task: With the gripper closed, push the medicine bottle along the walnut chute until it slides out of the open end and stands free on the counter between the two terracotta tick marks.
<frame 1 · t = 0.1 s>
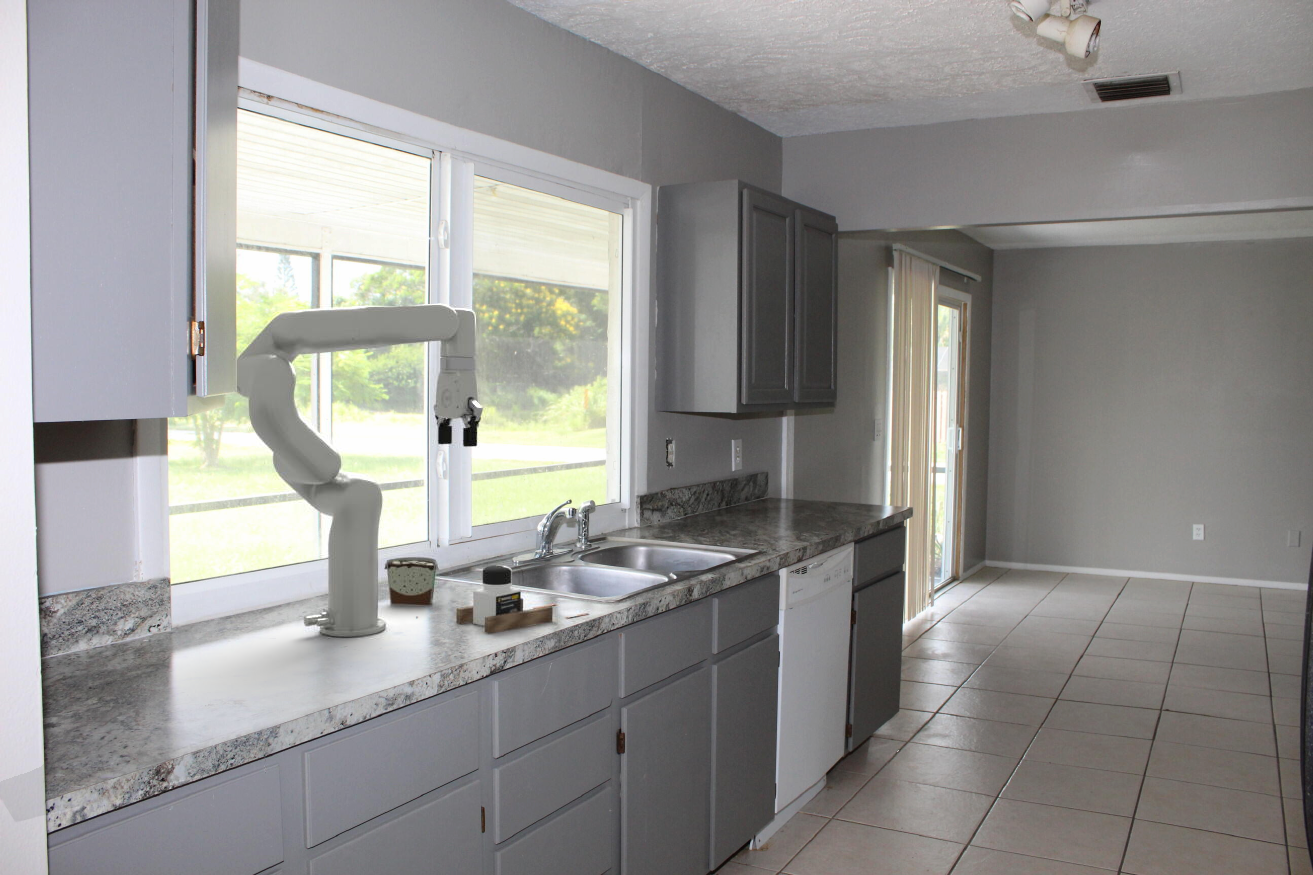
hand: (457, 445, 206), 37 cm above the worktop, tool pointing down, fingers open, 9 cm apart
food container: (415, 603, 217), on the worktop
chute: (504, 621, 200), on the worktop
medicine bottle: (496, 624, 199), on the worktop
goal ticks: (560, 611, 211), on the worktop
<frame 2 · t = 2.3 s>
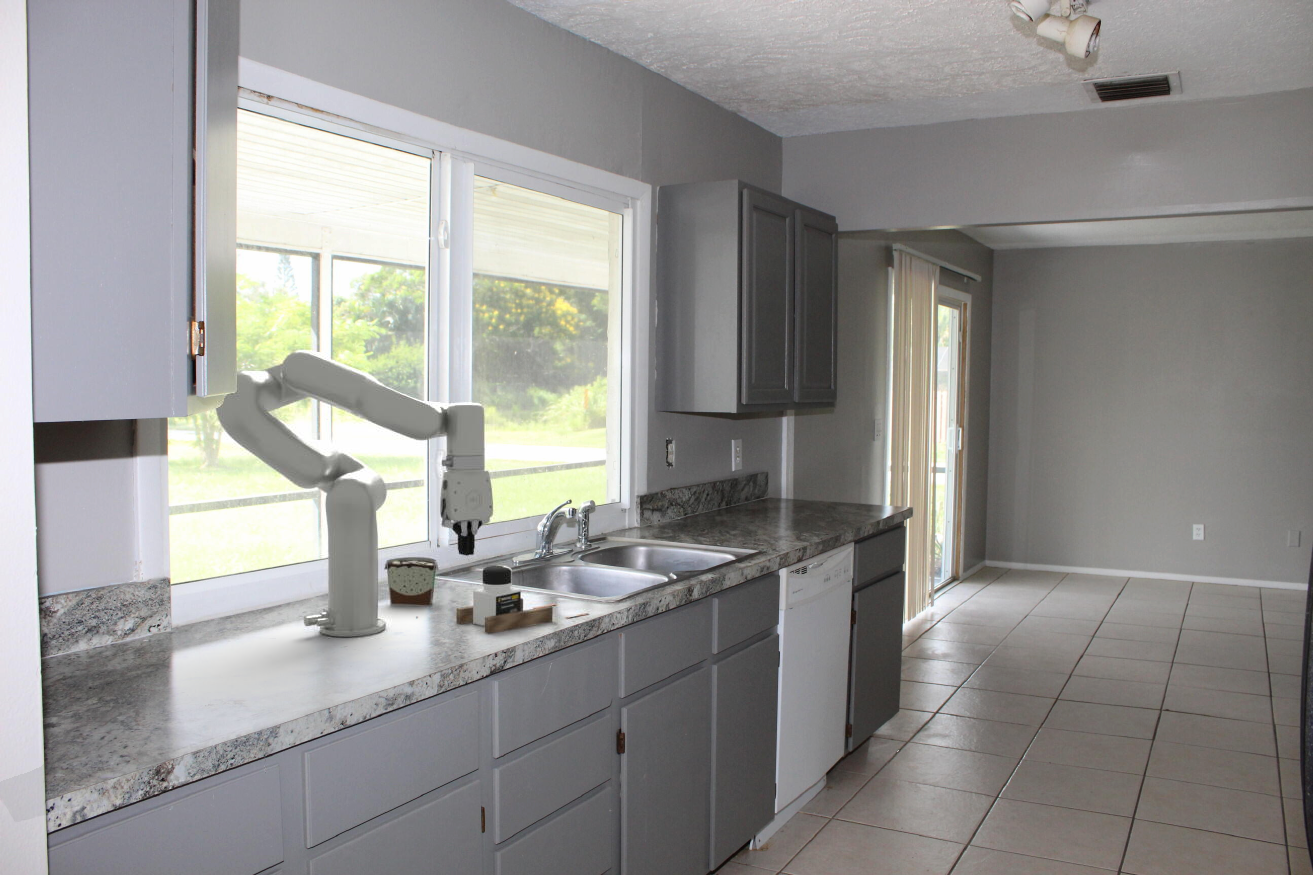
hand: (466, 554, 193), 15 cm above the worktop, tool pointing down, fingers closed
nothing on the worktop moved.
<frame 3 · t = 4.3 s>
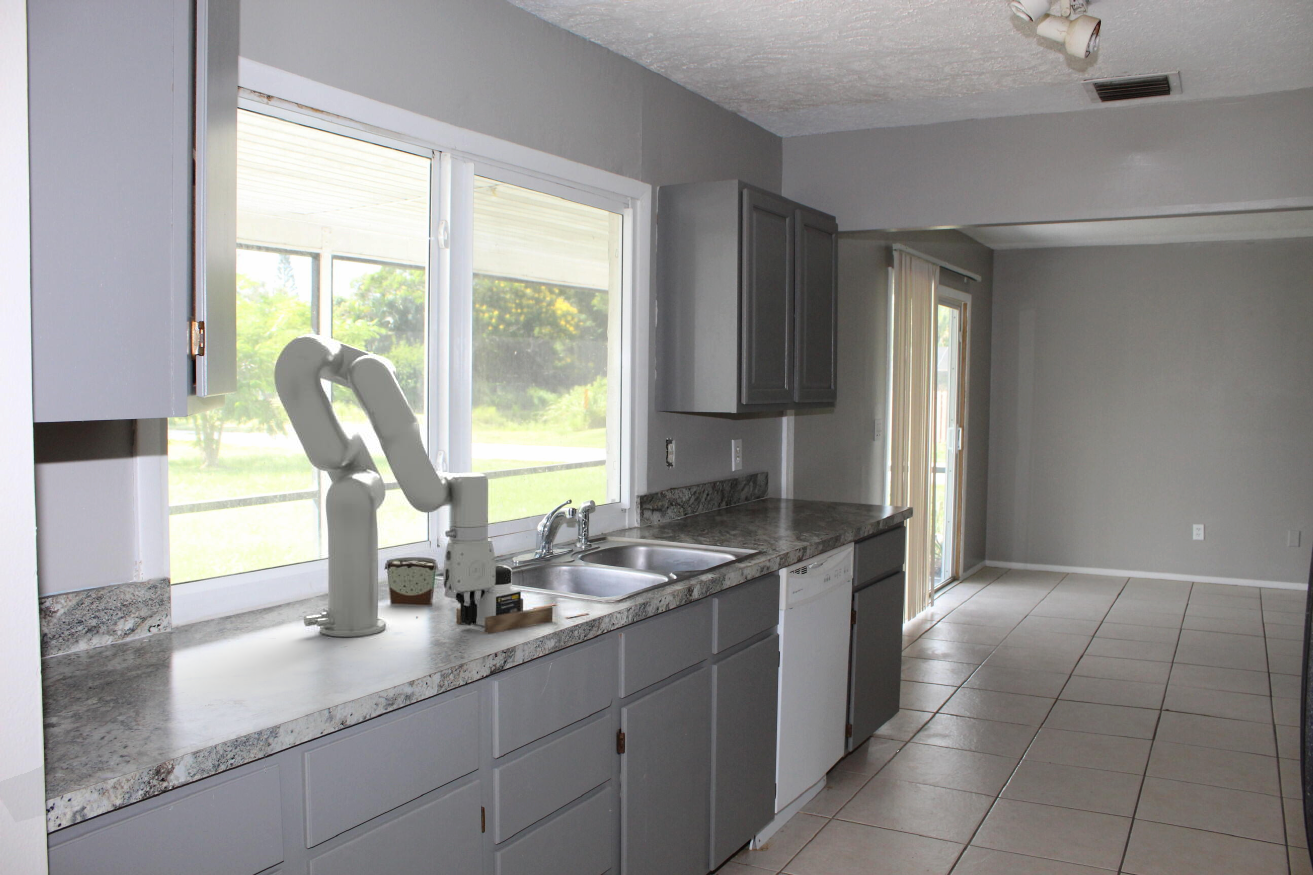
hand: (468, 622, 194), 1 cm above the worktop, tool pointing down, fingers closed
medicine bottle: (496, 624, 199), on the worktop, touching gripper
everything else where it was.
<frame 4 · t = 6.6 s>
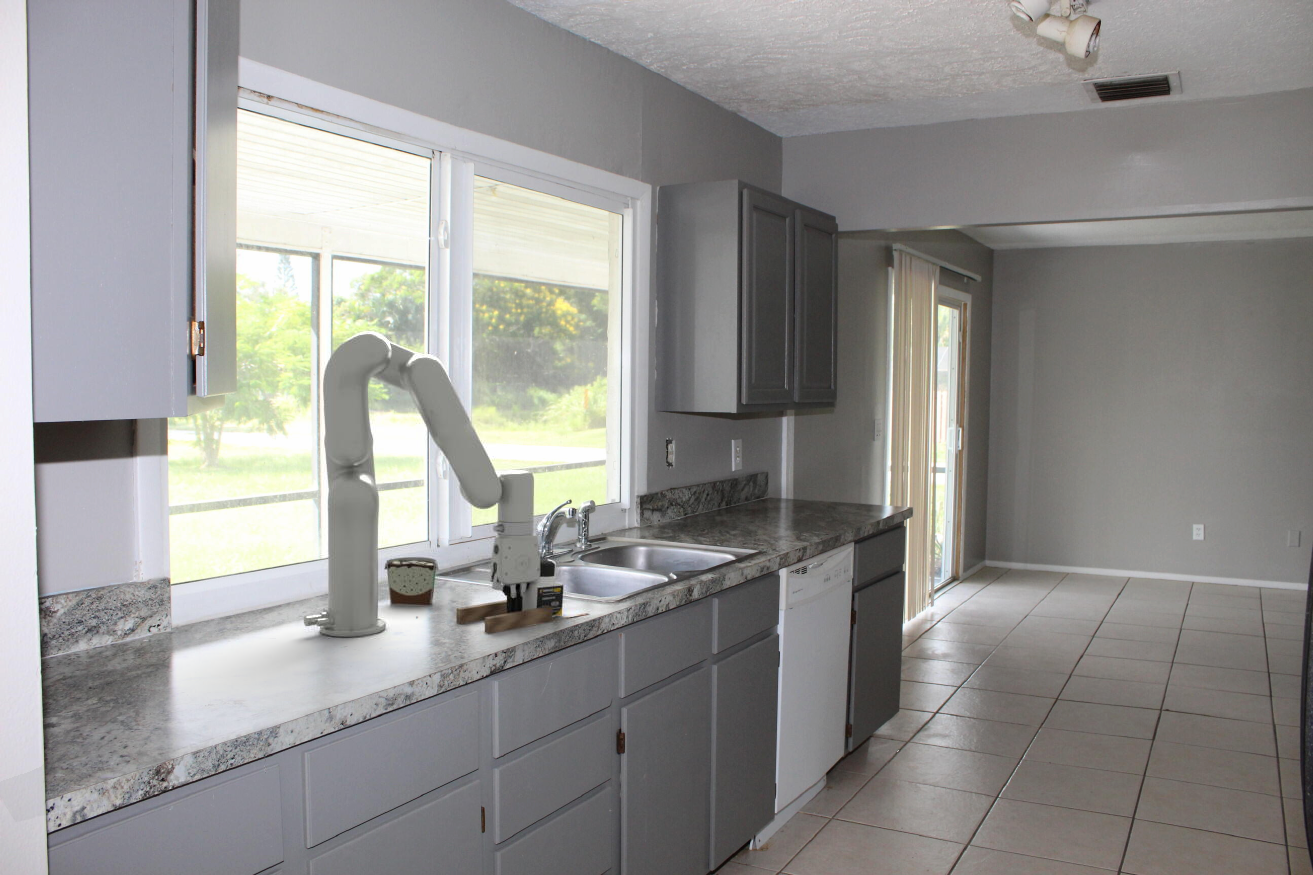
hand: (514, 614, 202), 1 cm above the worktop, tool pointing down, fingers closed
medicine bottle: (539, 615, 206), on the worktop, touching gripper
everything else where it was.
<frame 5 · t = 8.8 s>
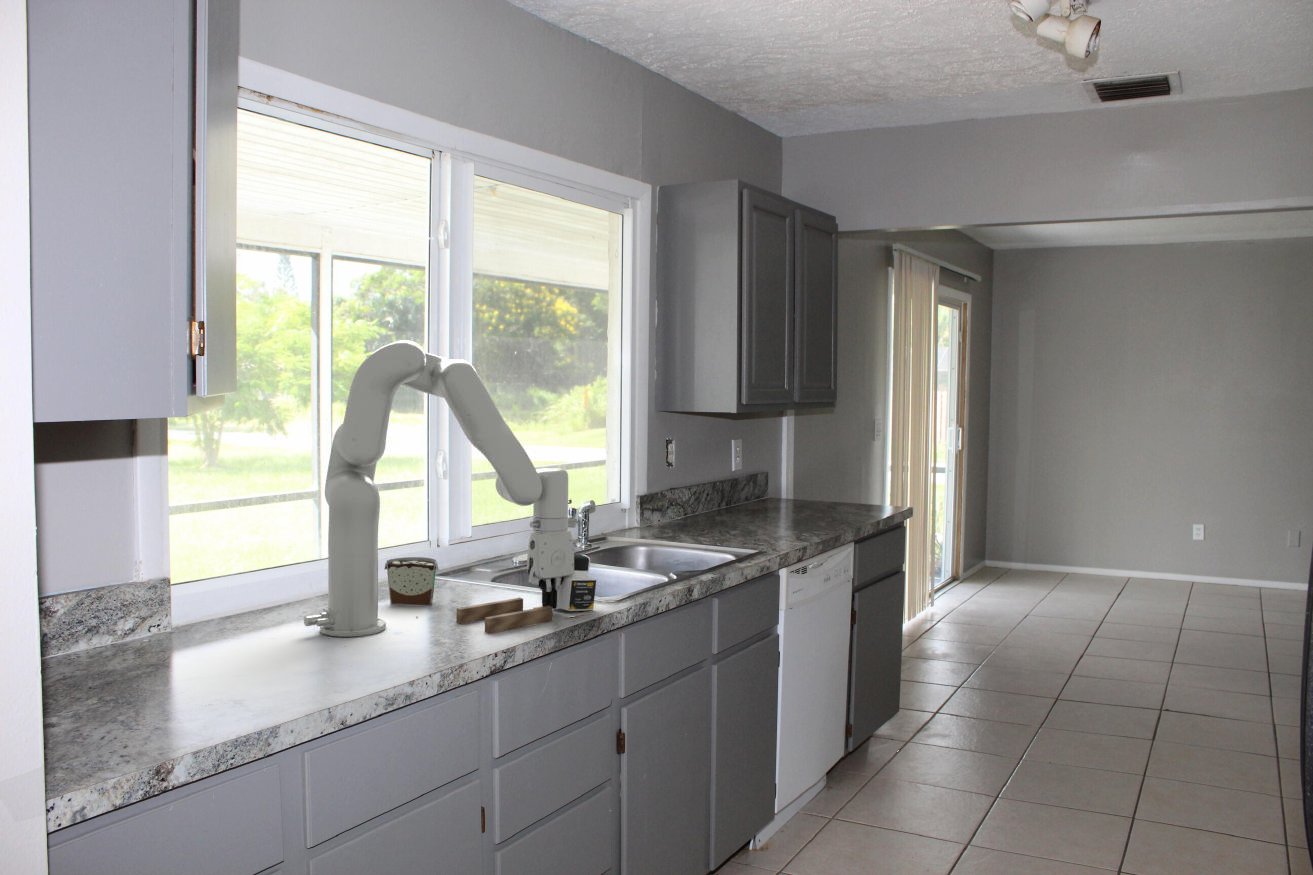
hand: (549, 607, 208), 1 cm above the worktop, tool pointing down, fingers closed
medicine bottle: (571, 608, 212), on the worktop, touching gripper
everything else where it was.
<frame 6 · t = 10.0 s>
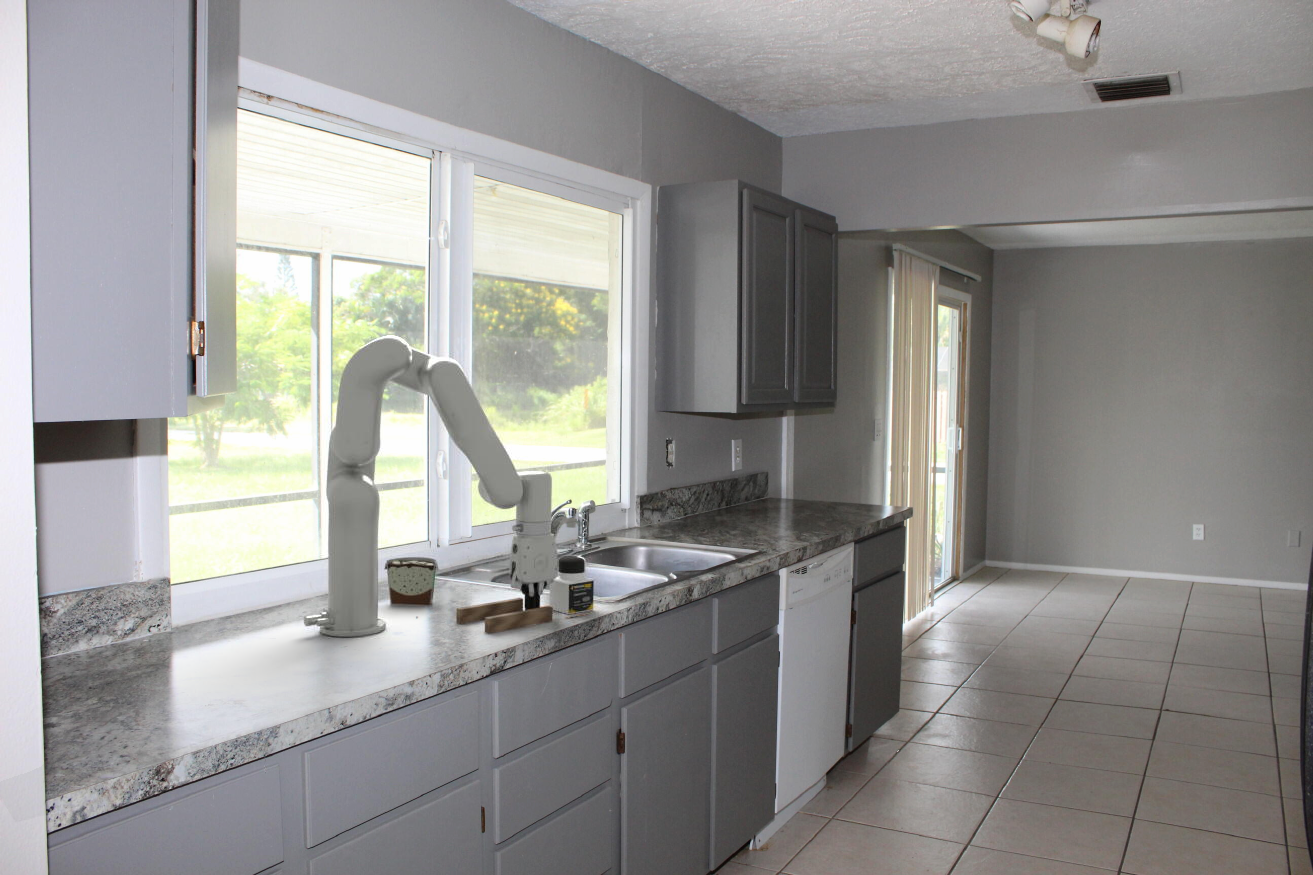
hand: (532, 612, 205), 1 cm above the worktop, tool pointing down, fingers closed
medicine bottle: (571, 610, 212), on the worktop
everything else where it was.
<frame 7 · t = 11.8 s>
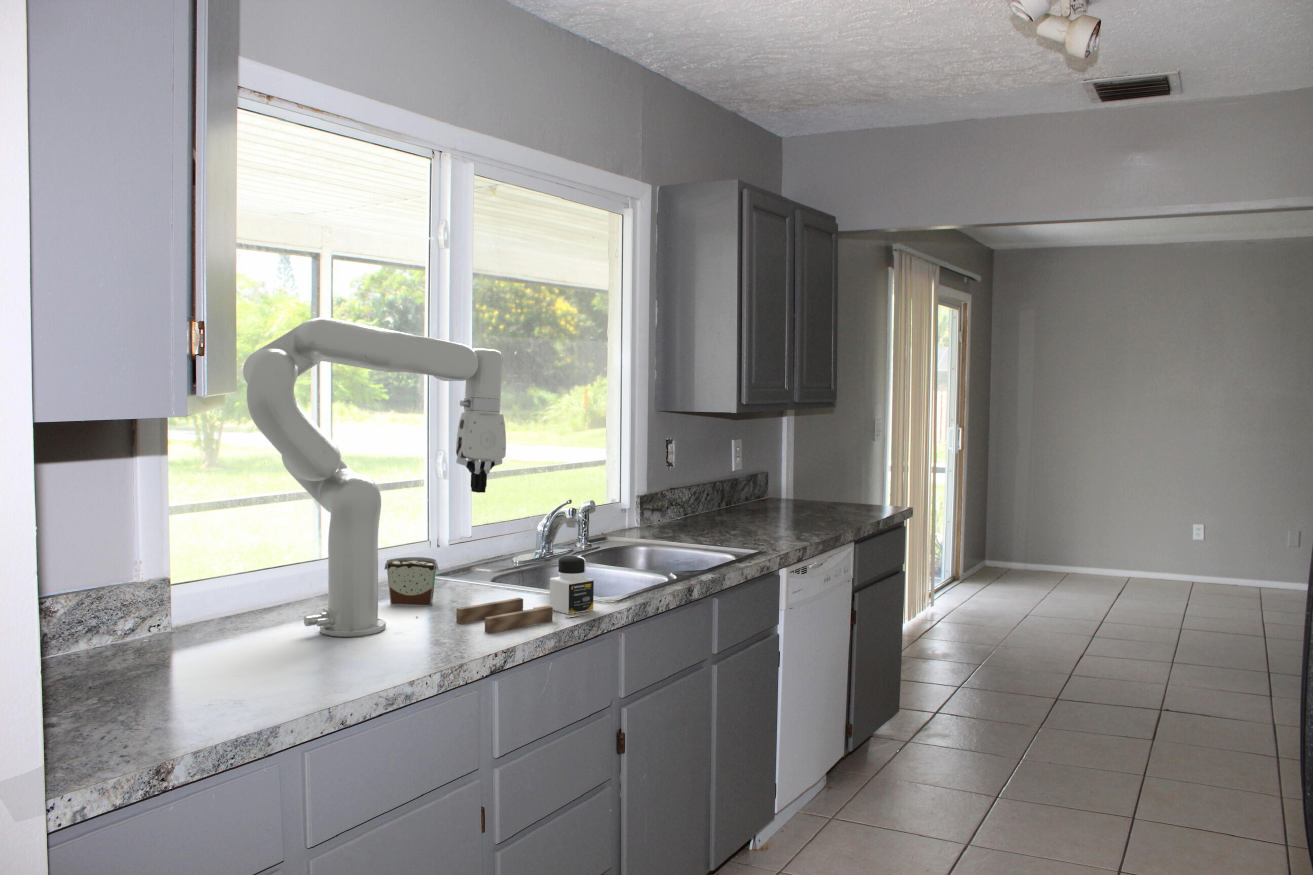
hand: (478, 491, 204), 27 cm above the worktop, tool pointing down, fingers closed
nothing on the worktop moved.
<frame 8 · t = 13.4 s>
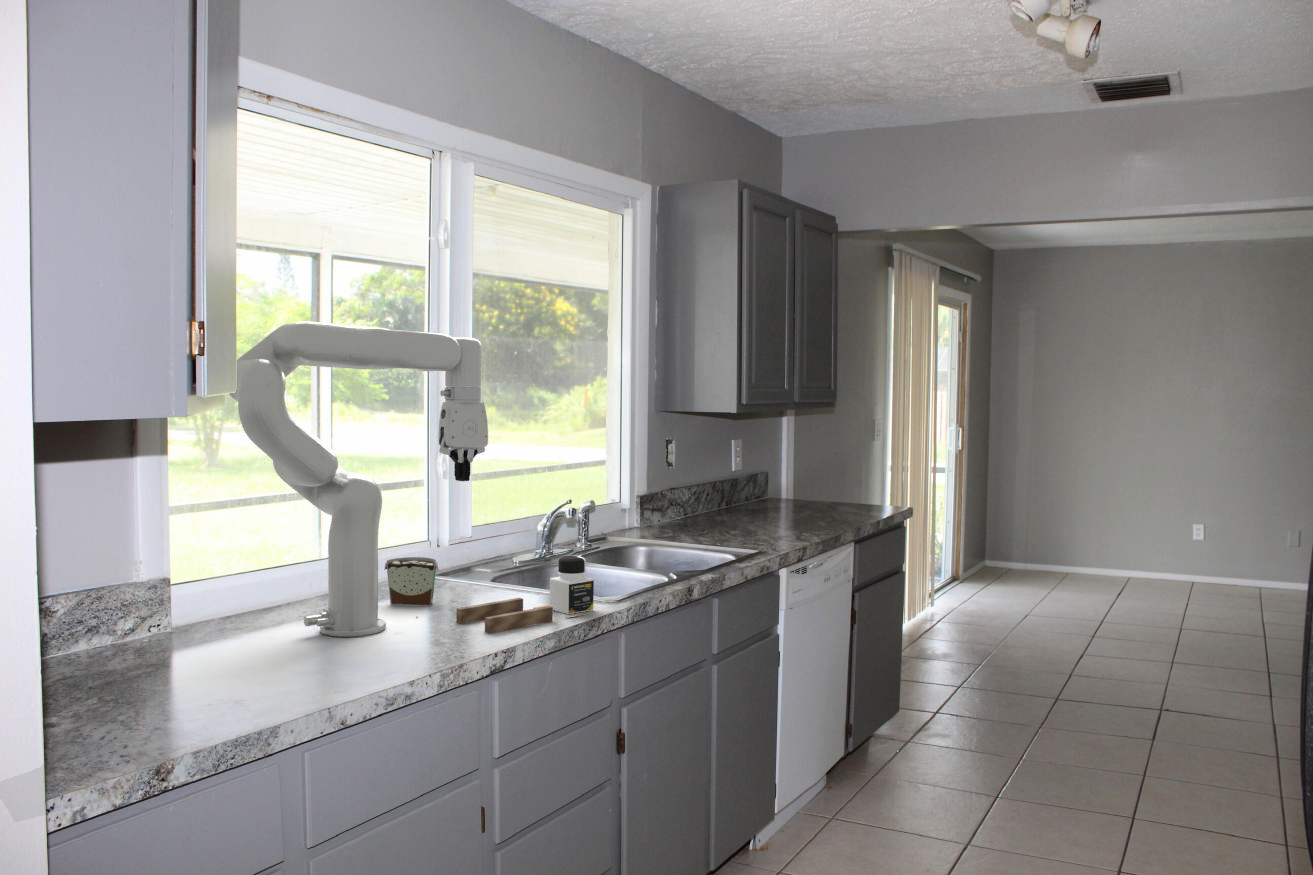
hand: (462, 480, 205), 29 cm above the worktop, tool pointing down, fingers closed
nothing on the worktop moved.
at the end: medicine bottle inside the target area (1.5 cm from its centre), on the worktop; medicine bottle tilted 0°; medicine bottle touching worktop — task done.
